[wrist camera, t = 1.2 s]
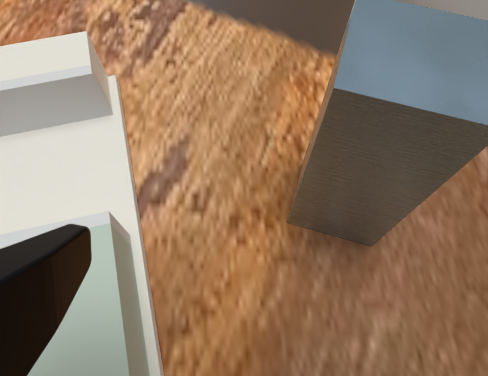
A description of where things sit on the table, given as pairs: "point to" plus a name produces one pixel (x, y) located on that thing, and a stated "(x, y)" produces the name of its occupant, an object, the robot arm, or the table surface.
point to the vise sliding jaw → (96, 308)
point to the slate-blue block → (393, 118)
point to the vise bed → (68, 150)
